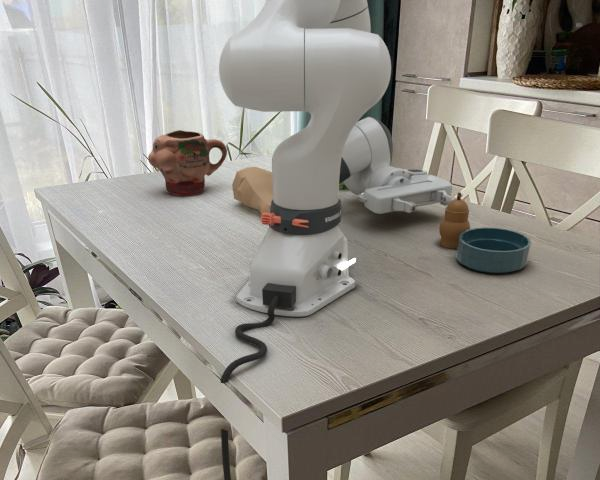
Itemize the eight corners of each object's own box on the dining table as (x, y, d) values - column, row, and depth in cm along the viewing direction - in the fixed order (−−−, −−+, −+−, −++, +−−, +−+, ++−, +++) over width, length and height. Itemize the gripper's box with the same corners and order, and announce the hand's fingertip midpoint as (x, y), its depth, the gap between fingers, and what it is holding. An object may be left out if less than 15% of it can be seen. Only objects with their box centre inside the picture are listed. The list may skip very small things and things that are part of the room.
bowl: (519, 280, 109) (524, 256, 107) (448, 268, 114) (451, 245, 111) (531, 255, 119) (536, 233, 116) (465, 245, 124) (468, 223, 121)
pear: (463, 251, 121) (471, 198, 115) (434, 246, 123) (440, 194, 117) (470, 241, 125) (478, 189, 119) (442, 237, 128) (448, 186, 122)
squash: (265, 197, 154) (271, 161, 149) (296, 231, 140) (303, 192, 135) (224, 195, 149) (229, 157, 144) (252, 230, 136) (258, 190, 130)
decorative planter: (220, 180, 167) (216, 125, 159) (236, 191, 158) (232, 133, 150) (148, 189, 160) (140, 133, 152) (160, 202, 151) (152, 142, 143)
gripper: (353, 181, 131) (391, 197, 121) (429, 168, 139) (470, 182, 129) (352, 210, 134) (389, 228, 124) (426, 196, 142) (466, 212, 132)
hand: (431, 204), depth 127 cm, fingers open, 8 cm apart
